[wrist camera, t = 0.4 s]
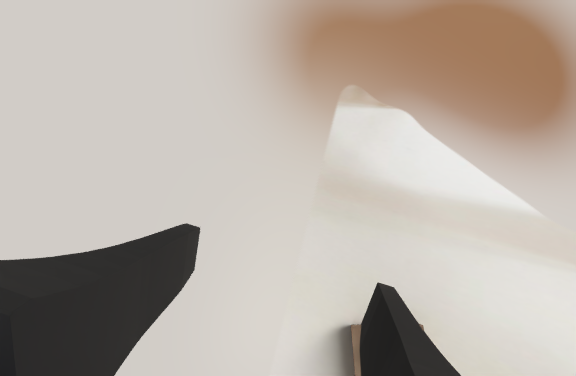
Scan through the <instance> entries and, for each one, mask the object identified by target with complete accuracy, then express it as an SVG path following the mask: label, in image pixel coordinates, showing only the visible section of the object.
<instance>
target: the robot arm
mask: <svg viewBox="0 0 576 376" xmlns="http://www.w3.org/2000/svg"><path fill="white" fill-rule="evenodd" d="M199 234H200V228H199V227H196V226H193V225H189V224H182V225H179V226H176V227H173V228H170V229H167V230H164V231H161V232H158V233H155V234H152V235H149V236H146V237H143V238H140V239H136V240H133V241H129V242H126V243H123V244H120V245H115V246H111V247H107V248H104V249H98V250H93V251H89V252H83V253H76V254H69V255H62V256H55V257H46V258H35V259H20V260H0V376H114V375H115V374H116V372H117V370H118V369H119V368H120V366H121V365H122V363H123V362H124V360H125V359H126V358H127V356H128V355H129V353H130V351H131V350H132V349H133V348H134V346H135V345H136V343H137V342H138V341H139V340H140V338H141V337H142V336H143V334H144V333H145V332H146V331H147V330H148V329H149V327H150V326H151V325H152V324H153V323H154V322H155V320H156V319H157V318H158V317H159V316H160V314H161V313H162V312H163V311H164V310H165V309H166V308H167V307H168V305H169V304H170V303H171V302H172V301H173V299H174V298H175V297H176V296H177V295H178V293H179V292H180V291H181V290H182V288H183V287H184V285H185V284H186V282H187V280H188V279H189V278H190V276H191V274H192V273H193V271H194V267H195V261H196V254H197V247H198V241H199ZM360 367H361V376H461V375H460V374H459V373H458V372H457V371H456V370H455V369H454V367H453V366H452V365H451V364H450V363H449V362H448V361H447V360H446V358H445V357H444V356H443V355H442V354H441V353H440V351H439V350H438V349H437V347H436V346H435V345H434V344H433V342H432V341H431V340H430V339H429V337H428V336H427V335H426V333H425V332H424V331H423V329H422V328H421V326H420V325H419V324H418V322H417V321H416V319H415V318H414V316H413V315H412V314H411V312H410V311H409V309H408V308H407V306H406V305H405V303H404V302H403V300H402V299H401V297H400V296H399V294H398V293H397V291H396V290H395V288H394V287H391V286H388V285H384V284H381V283H377V285H376V288H375V290H374V293H373V295H372V298H371V301H370V303H369V306H368V308H367V311H366V313H365V316H364V318H363V321H362V323H361V334H360Z"/></svg>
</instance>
